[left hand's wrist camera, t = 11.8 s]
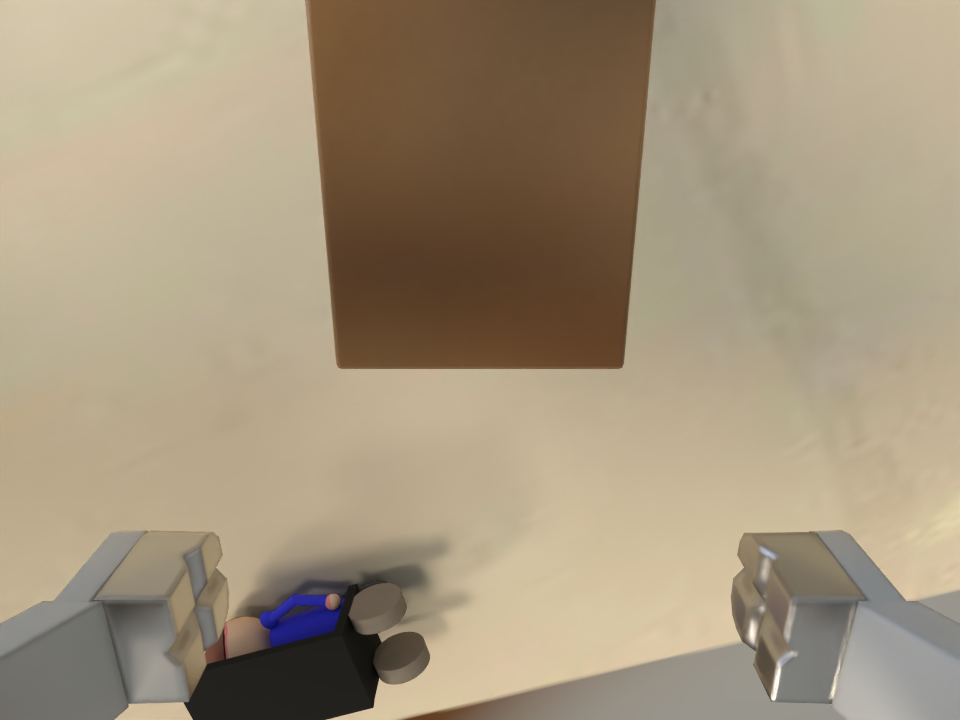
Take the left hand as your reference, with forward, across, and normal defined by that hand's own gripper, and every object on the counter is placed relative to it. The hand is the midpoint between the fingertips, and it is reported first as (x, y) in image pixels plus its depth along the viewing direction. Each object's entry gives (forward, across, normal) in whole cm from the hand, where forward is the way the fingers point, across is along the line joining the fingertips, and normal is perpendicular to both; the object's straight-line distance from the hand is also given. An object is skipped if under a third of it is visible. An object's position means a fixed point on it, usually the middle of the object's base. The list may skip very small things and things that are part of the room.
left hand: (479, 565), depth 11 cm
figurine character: (+30, +11, +28) cm, 42 cm away
